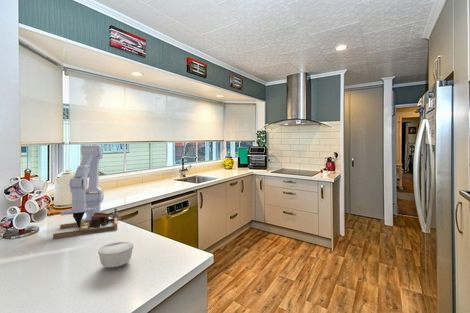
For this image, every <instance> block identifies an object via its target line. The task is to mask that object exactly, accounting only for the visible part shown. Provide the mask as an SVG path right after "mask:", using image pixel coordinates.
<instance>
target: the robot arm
mask: <svg viewBox="0 0 470 313" xmlns="http://www.w3.org/2000/svg"><path fill="white" fill-rule="evenodd" d="M80 153H81V155H82V158H81V162H80V165H79V166H77V168H76V171H75V173H74V176H73V178H71V179H70V180H69V184H68V185H69V189H70V193H71V209H67V210H61V211H60V216H66V215H68V216H69V215H72V217H73V219H74V221H75V223H77V229H80V228H81V226H80V223H81V221H82V220H83V218H84V215H85V214H86V217H85V219H84V220H85V222H87V221H92V218H91V217H92V216H94V213H101V203H103V202H104V198H105V195H104V190H103V189H102V188H101V187H99V177H100V176H99V175H100V174H99V173H100V172H99V171H100V160H102V159H103V153H104V152H103V146H102V145H101V144H82V145H81V147H80Z"/></svg>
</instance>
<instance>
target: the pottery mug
mask: <svg viewBox="0 0 470 313" xmlns="http://www.w3.org/2000/svg"><path fill="white" fill-rule="evenodd" d="M109 216H110V215H109V213H106V212H100V213H94V216H92V217H91V218H92V220H91V221H92V223H91V224H89V229H92V228H100V227H106V224H109V219H110V217H109Z"/></svg>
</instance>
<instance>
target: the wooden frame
mask: <svg viewBox="0 0 470 313" xmlns="http://www.w3.org/2000/svg"><path fill="white" fill-rule="evenodd" d="M109 221H111V222H113V223H114V225H109V226H100V228H89V229H85V230H80V229H79V230H71V231H63V232H57V233H56V232H55V233H53V234H52V239H61V238H68V237H74V236H82V235H88V234H96V233H102V232H109V231H111V232H112V231H116V229H117V230H118V221H119V211H118V212H117V207H115V208H114V212H112V218H109ZM86 222H90V224H91V223H92V220H87V221H85V223H86ZM75 227H76V228H78V226H77V223H76V222H72V223H64V224H63V223H62V224H60V226H59V229H60V230H62V229H68V228H75ZM80 227H81V223H80Z"/></svg>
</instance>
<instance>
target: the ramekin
mask: <svg viewBox="0 0 470 313" xmlns="http://www.w3.org/2000/svg"><path fill="white" fill-rule="evenodd" d="M133 249H134V243H132V242H131V241H117V242H111V243H109V244H105V245H103V246H101V247H100V248H99V249H98V251H97V254H98V255H99V261H100V262H99V263H100V264H101V265H102V266H103V268H116V267H121V266H123V265H125V264H127V263H129V261H130V260H131V259H132V255H133Z"/></svg>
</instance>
